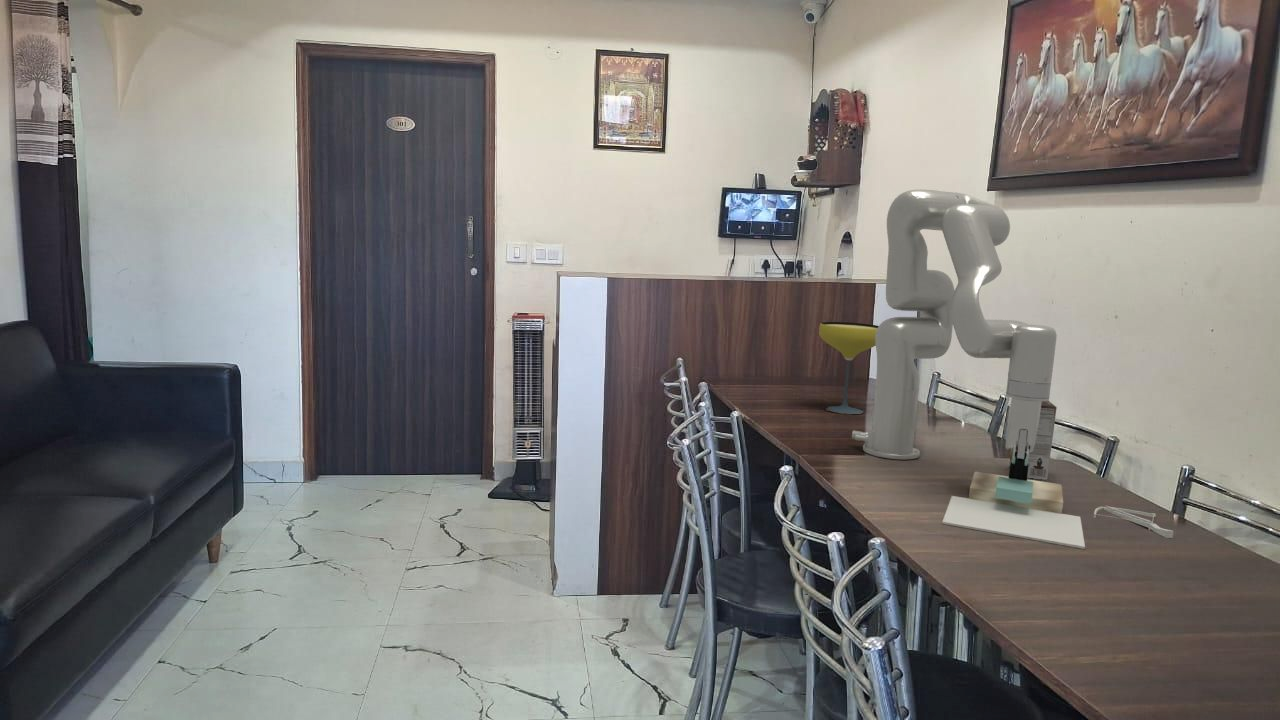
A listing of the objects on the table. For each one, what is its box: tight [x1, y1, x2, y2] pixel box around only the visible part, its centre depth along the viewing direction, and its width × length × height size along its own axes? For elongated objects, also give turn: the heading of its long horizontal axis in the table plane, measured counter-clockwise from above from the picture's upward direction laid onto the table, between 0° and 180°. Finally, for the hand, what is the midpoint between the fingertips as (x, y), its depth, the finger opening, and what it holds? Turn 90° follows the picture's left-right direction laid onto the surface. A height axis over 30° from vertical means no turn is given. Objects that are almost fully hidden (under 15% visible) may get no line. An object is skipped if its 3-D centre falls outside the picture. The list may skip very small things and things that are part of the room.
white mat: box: [941, 495, 1086, 550], centre depth 150 cm, size 22×18×1 cm
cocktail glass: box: [818, 321, 879, 415], centre depth 244 cm, size 18×18×25 cm
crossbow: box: [1093, 505, 1174, 539], centre depth 154 cm, size 16×13×2 cm
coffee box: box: [1008, 400, 1058, 481], centre depth 184 cm, size 9×6×16 cm
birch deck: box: [968, 471, 1064, 514], centre depth 165 cm, size 16×14×2 cm
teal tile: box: [995, 477, 1033, 504], centre depth 158 cm, size 6×9×2 cm, turn 154°
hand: (1017, 483), depth 163 cm, fingers closed
